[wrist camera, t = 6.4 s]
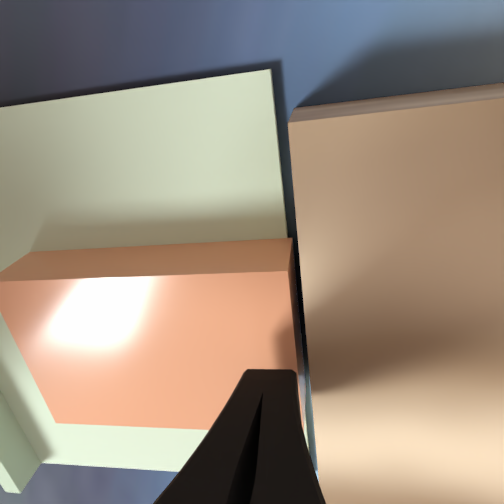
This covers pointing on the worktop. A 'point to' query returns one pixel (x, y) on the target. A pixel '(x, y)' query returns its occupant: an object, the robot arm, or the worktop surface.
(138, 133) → the mat
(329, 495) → the wooden board
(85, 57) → the worktop surface
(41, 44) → the worktop surface
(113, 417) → the tile
